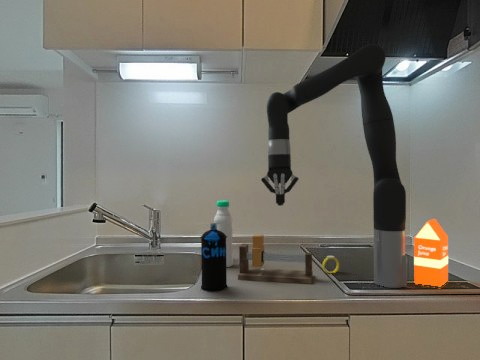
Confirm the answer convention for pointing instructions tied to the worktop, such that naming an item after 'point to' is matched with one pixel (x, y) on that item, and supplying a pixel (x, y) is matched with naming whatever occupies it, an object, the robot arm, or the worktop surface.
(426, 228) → the orange juice
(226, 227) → the water bottle
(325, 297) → the worktop surface
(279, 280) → the rig
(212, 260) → the aerosol can
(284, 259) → the grey square bar
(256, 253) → the collar
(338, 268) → the watch
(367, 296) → the worktop surface
